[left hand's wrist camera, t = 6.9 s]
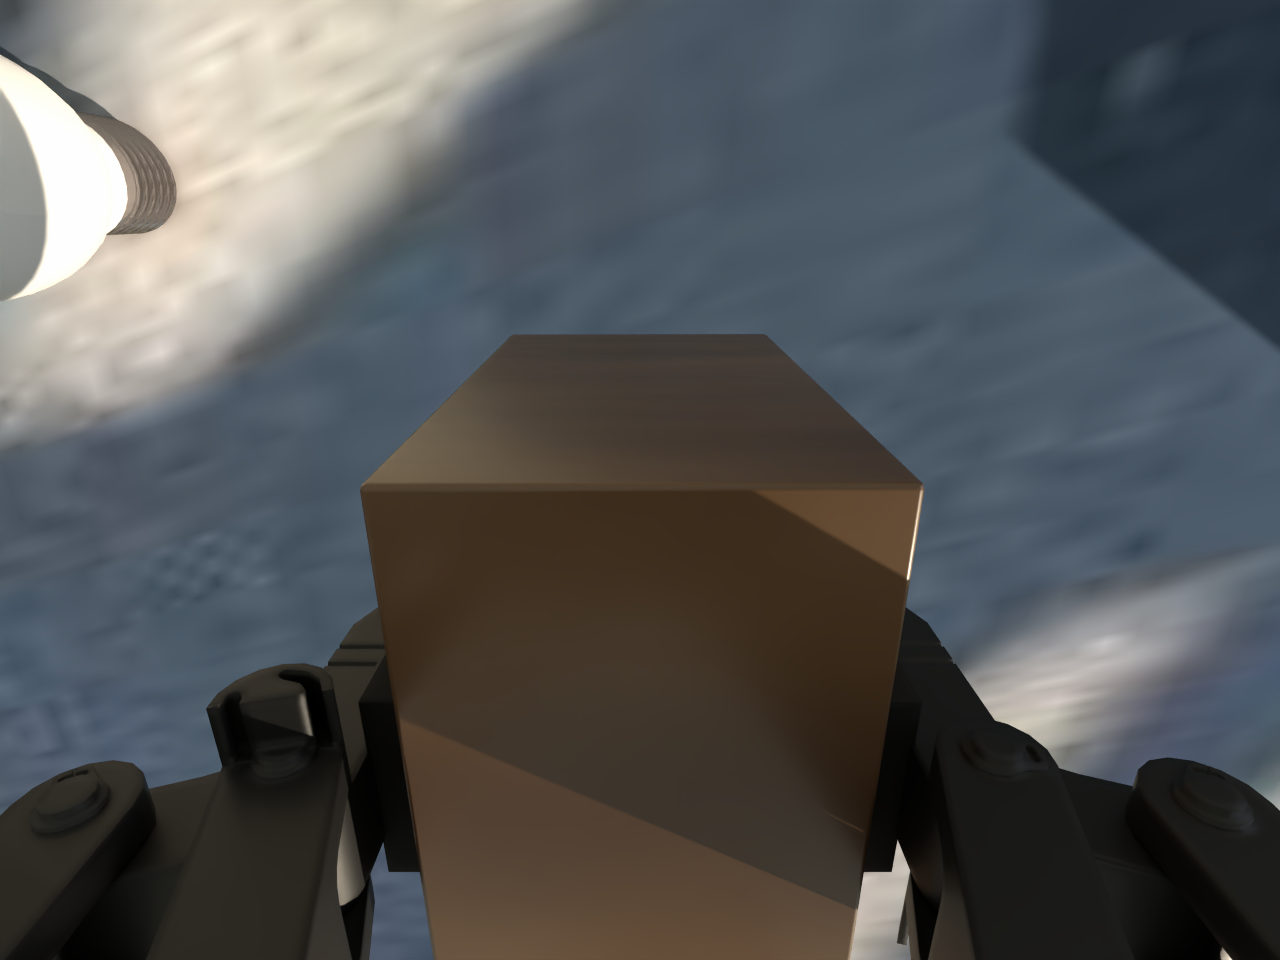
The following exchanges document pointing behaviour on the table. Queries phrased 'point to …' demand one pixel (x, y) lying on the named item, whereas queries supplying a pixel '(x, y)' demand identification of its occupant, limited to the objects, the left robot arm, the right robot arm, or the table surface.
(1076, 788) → the left robot arm
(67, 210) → the light bulb
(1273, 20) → the table surface
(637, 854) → the post
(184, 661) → the table surface
